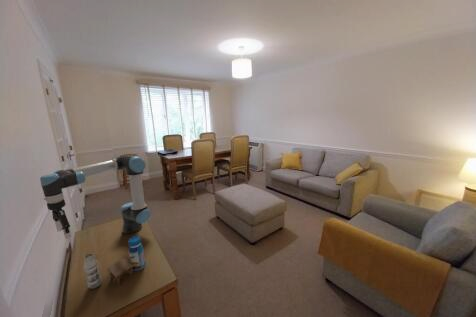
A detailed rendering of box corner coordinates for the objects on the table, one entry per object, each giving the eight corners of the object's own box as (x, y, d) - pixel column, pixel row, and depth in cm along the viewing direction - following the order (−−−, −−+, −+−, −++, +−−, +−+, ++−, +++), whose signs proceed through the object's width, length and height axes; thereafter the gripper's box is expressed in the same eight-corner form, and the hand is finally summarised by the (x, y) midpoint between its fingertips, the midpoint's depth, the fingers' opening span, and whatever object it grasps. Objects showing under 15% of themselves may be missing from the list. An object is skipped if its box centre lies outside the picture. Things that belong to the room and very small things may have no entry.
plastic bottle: (94, 280, 117) (87, 251, 112) (105, 281, 116) (98, 252, 112) (85, 290, 111) (77, 259, 106) (96, 291, 110) (89, 260, 105)
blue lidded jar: (147, 266, 127) (143, 239, 122) (133, 273, 121) (128, 245, 117) (143, 259, 133) (139, 233, 128) (129, 266, 127) (124, 239, 123)
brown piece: (126, 267, 126) (124, 258, 124) (134, 274, 121) (133, 264, 119) (109, 278, 118) (107, 268, 116) (117, 286, 113) (115, 275, 111)
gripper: (40, 198, 115) (49, 230, 120) (53, 209, 102) (63, 244, 107) (56, 194, 121) (65, 224, 126) (71, 203, 108) (80, 237, 113)
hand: (64, 234), depth 116 cm, fingers open, 13 cm apart
